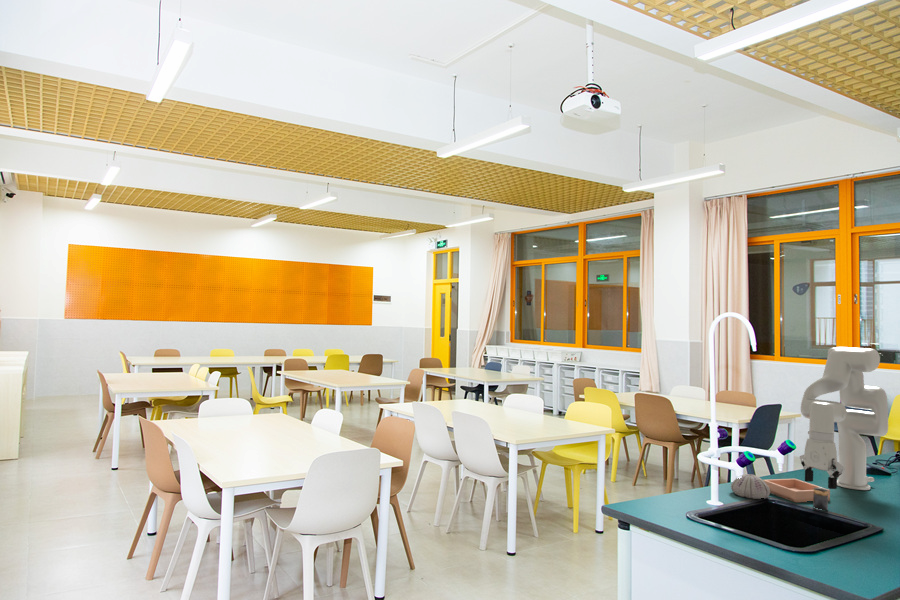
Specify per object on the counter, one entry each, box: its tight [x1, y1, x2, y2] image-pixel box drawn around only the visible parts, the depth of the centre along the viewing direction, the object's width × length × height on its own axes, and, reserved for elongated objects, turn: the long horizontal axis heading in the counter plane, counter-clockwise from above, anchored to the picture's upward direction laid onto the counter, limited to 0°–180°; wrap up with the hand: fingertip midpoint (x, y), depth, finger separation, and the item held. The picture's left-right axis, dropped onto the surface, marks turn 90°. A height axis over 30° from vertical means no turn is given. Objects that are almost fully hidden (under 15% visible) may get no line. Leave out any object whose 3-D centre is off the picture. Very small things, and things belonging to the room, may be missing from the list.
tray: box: [762, 478, 831, 503], centre depth 226 cm, size 16×16×4 cm
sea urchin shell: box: [730, 473, 771, 500], centre depth 223 cm, size 13×14×8 cm
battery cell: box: [812, 486, 829, 510], centre depth 209 cm, size 4×4×8 cm
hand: (820, 484), depth 209 cm, fingers open, 9 cm apart
